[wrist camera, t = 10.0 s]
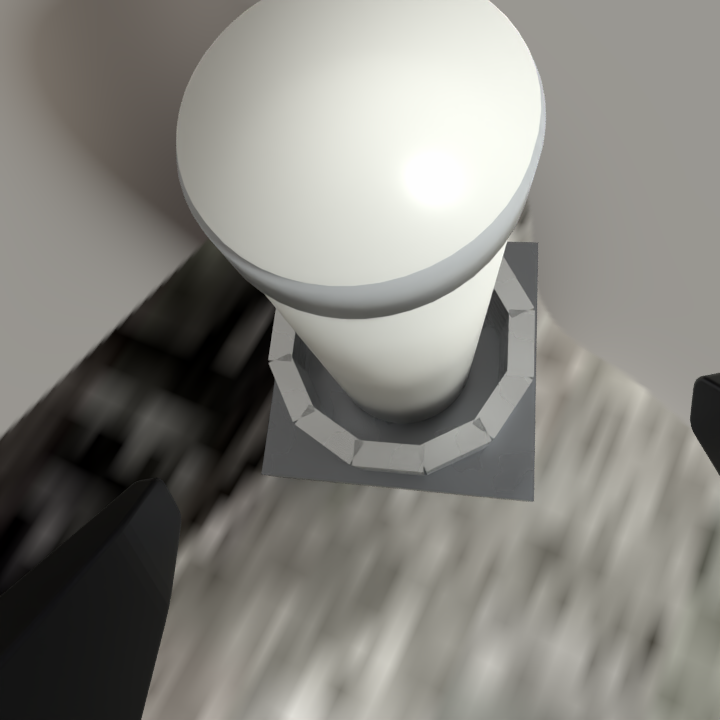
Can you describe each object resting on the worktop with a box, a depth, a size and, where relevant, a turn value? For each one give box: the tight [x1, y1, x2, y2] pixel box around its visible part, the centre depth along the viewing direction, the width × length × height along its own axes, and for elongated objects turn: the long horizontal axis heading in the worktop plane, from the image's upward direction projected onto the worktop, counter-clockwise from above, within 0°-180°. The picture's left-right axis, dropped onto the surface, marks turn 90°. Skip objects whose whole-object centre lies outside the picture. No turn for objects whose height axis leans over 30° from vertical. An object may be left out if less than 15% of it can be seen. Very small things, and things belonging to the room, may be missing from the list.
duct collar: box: [262, 242, 538, 501], centre depth 19 cm, size 10×10×4 cm
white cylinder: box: [176, 0, 546, 423], centre depth 13 cm, size 5×5×13 cm
